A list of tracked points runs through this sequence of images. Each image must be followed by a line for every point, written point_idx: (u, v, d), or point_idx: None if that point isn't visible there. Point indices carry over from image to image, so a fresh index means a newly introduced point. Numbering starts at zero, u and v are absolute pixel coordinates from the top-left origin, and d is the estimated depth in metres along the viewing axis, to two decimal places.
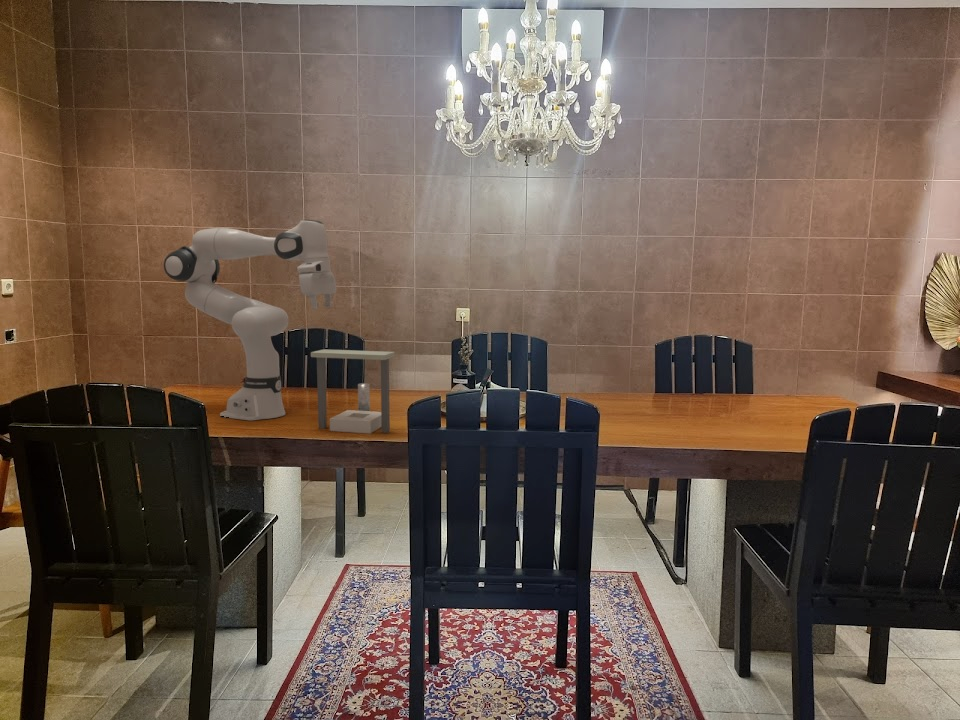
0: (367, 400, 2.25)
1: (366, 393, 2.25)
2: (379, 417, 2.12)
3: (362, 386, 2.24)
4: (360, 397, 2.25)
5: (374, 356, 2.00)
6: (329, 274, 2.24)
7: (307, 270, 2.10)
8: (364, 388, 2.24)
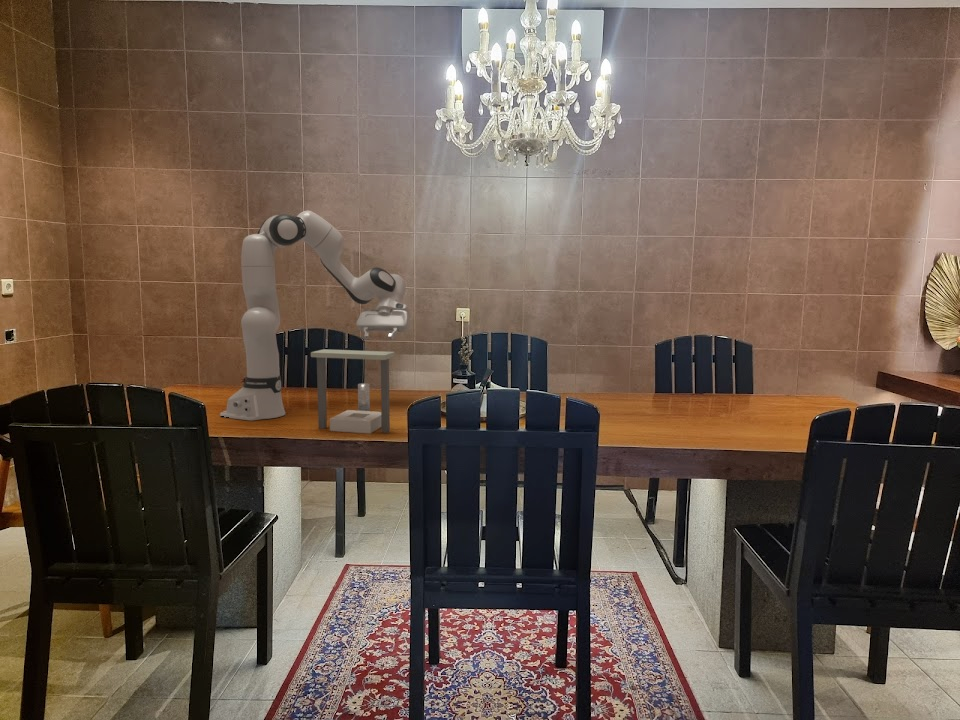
0: (367, 400, 2.25)
1: (366, 393, 2.25)
2: (379, 417, 2.12)
3: (362, 386, 2.24)
4: (360, 397, 2.25)
5: (374, 356, 2.00)
6: None
7: (408, 314, 2.44)
8: (364, 388, 2.24)
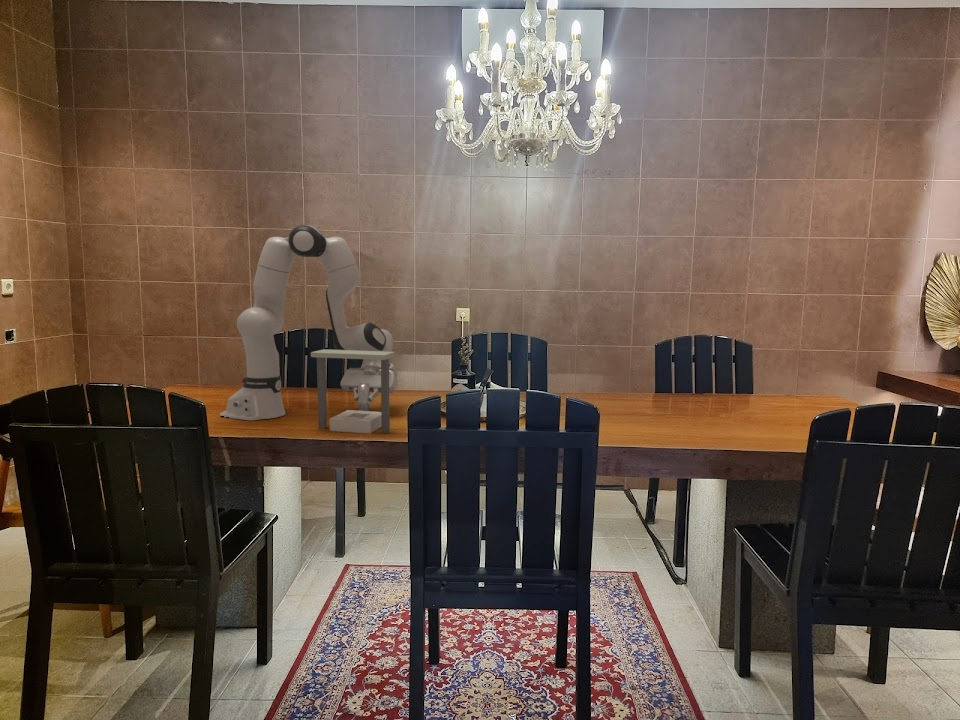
0: (367, 400, 2.25)
1: (366, 393, 2.25)
2: (379, 417, 2.12)
3: (362, 386, 2.24)
4: (360, 397, 2.25)
5: (374, 356, 2.00)
6: None
7: (395, 373, 2.32)
8: (364, 388, 2.24)
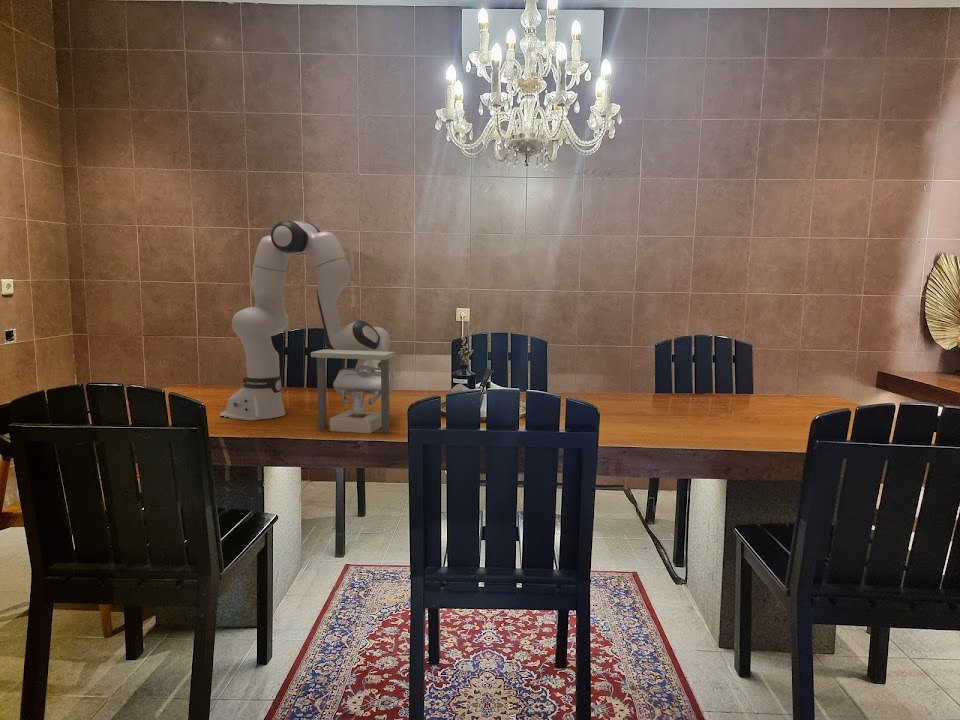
0: (362, 409, 2.11)
1: (360, 401, 2.10)
2: (379, 417, 2.12)
3: (356, 394, 2.10)
4: (354, 405, 2.10)
5: (374, 356, 2.00)
6: None
7: (392, 374, 2.17)
8: (358, 396, 2.10)
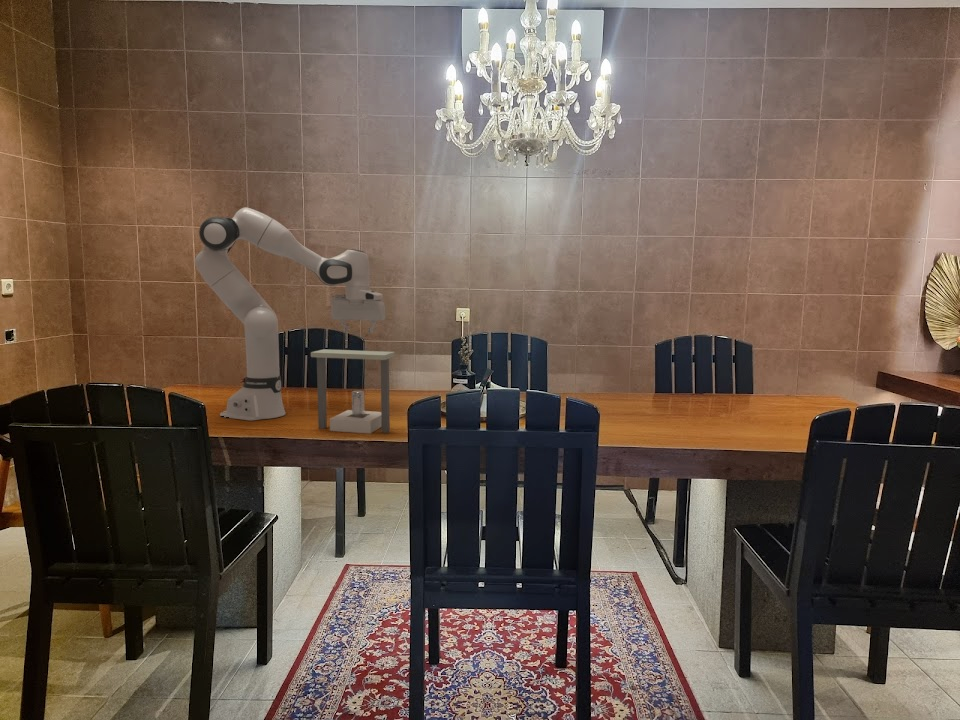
0: (362, 409, 2.11)
1: (360, 401, 2.10)
2: (379, 417, 2.12)
3: (356, 394, 2.10)
4: (354, 405, 2.10)
5: (374, 356, 2.00)
6: None
7: (381, 298, 2.32)
8: (358, 396, 2.10)
